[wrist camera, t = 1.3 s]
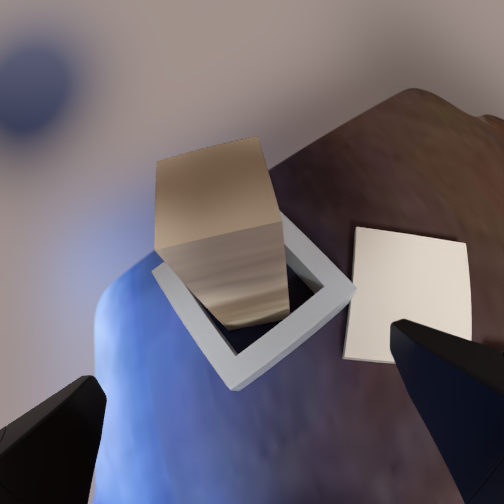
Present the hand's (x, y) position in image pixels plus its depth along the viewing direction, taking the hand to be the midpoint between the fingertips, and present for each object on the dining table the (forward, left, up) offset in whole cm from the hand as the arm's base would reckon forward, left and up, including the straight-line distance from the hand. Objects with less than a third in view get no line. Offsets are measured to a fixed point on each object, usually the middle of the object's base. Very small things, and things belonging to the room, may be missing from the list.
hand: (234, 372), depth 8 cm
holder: (+4, -5, -13) cm, 14 cm away
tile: (-7, -10, -13) cm, 18 cm away
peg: (+4, -5, -13) cm, 14 cm away
